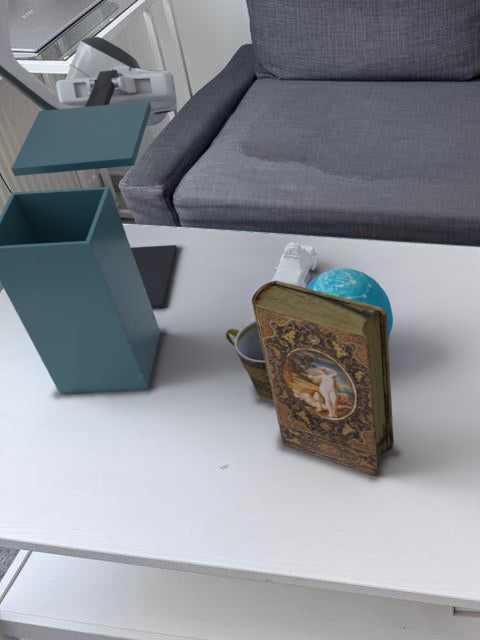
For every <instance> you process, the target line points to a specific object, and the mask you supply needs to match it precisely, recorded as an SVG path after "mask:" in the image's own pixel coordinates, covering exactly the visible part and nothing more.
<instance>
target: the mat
mask: <svg viewBox="0 0 480 640" xmlns="http://www.w3.org/2000/svg"><path fill="white" fill-rule="evenodd" d="M131 250H132V253H133V255H134V258H135V261H136V264H137V267H138V270H139V272H140V275H141V278H142V281H143V284H144V287H145V290H146V292H147V295H148V298H149V301H150V304H151V307H152V309H163V308H164V307H165V306H164V305H165V302H166V298H167V293H168V290H169V285H170V281H171V276H172V271H173V268H174V263H175V258H176V255H177V254H176V253H177V250H178V248H177V245H176V244H171V245H170V244H169V245H167V244H166V245H153V246H136V247H135V246H134V247H131Z"/></svg>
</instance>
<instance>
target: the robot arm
mask: <svg viewBox="0 0 480 640" xmlns="http://www.w3.org/2000/svg"><path fill="white" fill-rule="evenodd" d="M10 33H11V32H10V4H9V0H0V77H1V78H2V79H3V80H4V81H6V82H7V83H8V84H9V85H10V86H11V87H13V88H14V89H16V90H17V91H18V92H19V93H21V94H22V95H23V96H25V97H26V98H27V99H28V100H30V101H31V102H33V103H34V104H35V105H36V106H37V107H38V108H40V109H41V110H42V111H46V110H57V109H68V108H79V107H85V106H86V104H87V101H88V99H89V96H90V94H91V92H92V89H93V87H94V84H95V82H96V80H97V77H98V75H99V72H100V71H111V70H117V72H118V75H119V78H112V82H113V88H114V92H113V95H112V97H111V100H110V103H109V105H112V104H123V103H134V102H145V101H149V102H150V105H151V111H150V115H149V118H148V121H147V125H146V127H151V126H156V125H158V124H160V123H162V121H164V119H166V116H167V114H168V113H171V112H176V111H177V110H178V107H177V105H178V104H177V103H178V100H177V93H176V86H175V80H174V75H173V74H172V72H171V71H168V70H145V69H141V66H140V64H139V63H138V61H137V59H135V58H134V57H133V56H132V55H130V54H129V53H128V52H127V51H125V50H123V49H122V48H121V47H118V46H117V45H115V44H114V43H112V42H110V41H109V40H106V39H104V38H103V37H100V36H90V37H84V38H83V39H81V40H80V42H79V44H78V47H77V49H76V51H75V54H74V56H73V58H72V61H71V65H70V67H69V69H68V72H67V74H66V77H65V79H58V80H57V81H56V82H55V88H56V91H54V90H52V89H51V88H50V87H48V85H46V84H45V83H44V82H42V81H41V80H40V79H39V78H38V77H36V76H35V75H34V74H33V73H32V72H30V71H29V70H27V68H25V67H24V66H23V65H22V64H21V63H19V61H18V60H17V59H16V57H15V55H14V53H13V49H12V46H11V34H10Z"/></svg>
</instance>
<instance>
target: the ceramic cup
mask: <svg viewBox="0 0 480 640" xmlns="http://www.w3.org/2000/svg"><path fill="white" fill-rule="evenodd" d="M230 335H231V336H233V337H234V340H233V338H232V337H231V336H230ZM225 337H226V340H227V341H228V342H229V343H230V345H231V346H233V347H234V350H235V351H236V354H237V356H238V358H239V361H240V363H241V364H242V367H243V368H244V370H245V372H246V373H247V375H248V377H249V378H250V379H249V380H250V381H251V383H252V385H253V387H254V389H255V391H256V393H257V395H258V397H259V398H260V400H262V401H264V402H268V403H270V404H273V405H274V401H273V396H272V391H271V387H270V382H269V378H268V373H267V369H266V364H265V359H264V355H263V350H262V346H261V341H260V337H259V332H258V328H257V323H256V320H255V321H252V322H250V323H248V324H246V325H245V326H243V327H242V328H241V329H240V330H239V329H236V328H230V329H228V330H227V331H226V332H225Z"/></svg>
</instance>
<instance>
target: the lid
mask: <svg viewBox="0 0 480 640" xmlns="http://www.w3.org/2000/svg"><path fill="white" fill-rule="evenodd" d="M112 78H119V75H118V72H117V70H111V71H100V72H99V75H98V77H97V80H96V82H95V84H94V87H93V89H92V92H91V94H90V96H89V99H88V101H87V104H86V106H85V107H79V108H68V109H57V110H46V111H44V110H38V113H37V115H36V117H35V119H34V121H33V123H32V125H31V127H30V129H29V131H28V133H27V135H26V137H25V140H24V141H23V143H22V145H21V148H20V150H19V151H18V154H17V156H16V158H15V159H14V161H13V164H12V166H11V168H10V169H11V173H13V176H14V177H20V176H21V177H22V176H32V175H44V174H55V173H56V174H57V173H66V172H77V171H89V170H99V169H101V170H102V169H111V168H123V167H134V166H135V164H136V161H137V159H138V158H137V157H138V154H139V151H140V148H141V145H142V141H143V138H144V134H145V131H146V128H147V126H146V125H147V121H148V118H149V115H150V111H151V105H150V102H149V101H145V102H134V103H123V104H112V105H109V103H110V100H111V97H112V95H113V92H114V88H113V82H112Z"/></svg>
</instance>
